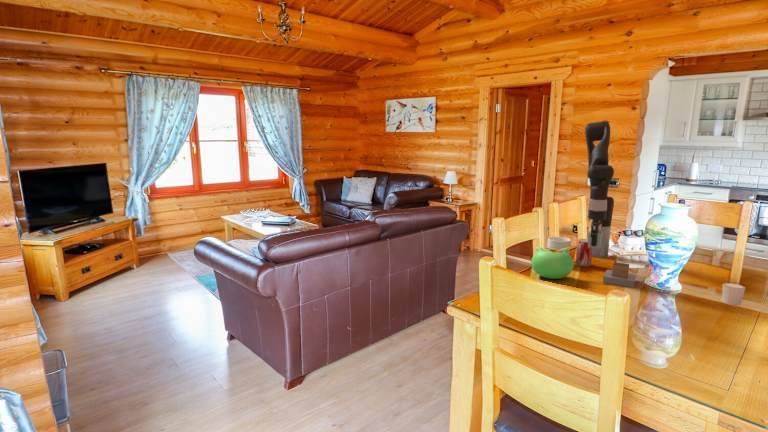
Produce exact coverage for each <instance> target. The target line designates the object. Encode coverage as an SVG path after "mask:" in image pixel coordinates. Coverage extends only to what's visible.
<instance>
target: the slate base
mask: <svg viewBox="0 0 768 432" xmlns="http://www.w3.org/2000/svg"><path fill="white" fill-rule="evenodd" d="M636 281H637V273H631V272H629V273H628V277H627V278H623V277H616V276H612V269H606V270H605V272H604V274H603V279H602V283H603V284H608V285H615V286H620V287H626V288H631V289H634V288H635V285H636Z"/></svg>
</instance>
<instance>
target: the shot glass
mask: <svg viewBox="0 0 768 432" xmlns="http://www.w3.org/2000/svg"><path fill="white" fill-rule="evenodd" d="M745 291H746V287H745V286H743V285H742V284H738V283H737V284H736V283H732V282H731V283H730V282H724V283H722V293H721V296H722V297H721V298H722V299H721V301H722V302H723V303H724V304H727V305H731V306H741V305H742V302H743V298H744V295H745Z"/></svg>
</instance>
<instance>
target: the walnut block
mask: <svg viewBox="0 0 768 432" xmlns="http://www.w3.org/2000/svg"><path fill="white" fill-rule="evenodd" d="M611 270H612V276H616V277H623V278H627V277H628V273H630V263H625V262H617V261H614V262H613V264H612V269H611Z"/></svg>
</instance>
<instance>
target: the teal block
mask: <svg viewBox="0 0 768 432" xmlns="http://www.w3.org/2000/svg"><path fill="white" fill-rule="evenodd" d="M593 235H596V234H595V233H593ZM587 238H588V247H591V248H599V249H600V247H601V242H602V232H601V231H600V232H599V233H598V238H597V245H596V246H591V240H592V238H591V230H590V231H589V232H588V237H587Z"/></svg>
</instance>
